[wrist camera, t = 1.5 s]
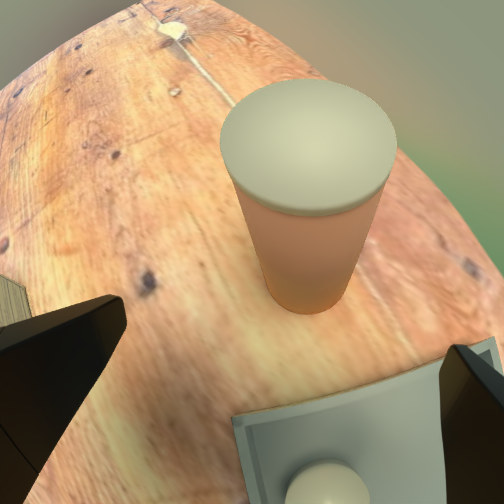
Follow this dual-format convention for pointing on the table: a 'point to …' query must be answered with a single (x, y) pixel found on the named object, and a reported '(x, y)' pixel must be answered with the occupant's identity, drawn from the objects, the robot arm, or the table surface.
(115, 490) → the table surface
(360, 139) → the coffee tin
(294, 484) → the cream dome ball
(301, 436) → the grey shallow tray
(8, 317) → the medicine box
